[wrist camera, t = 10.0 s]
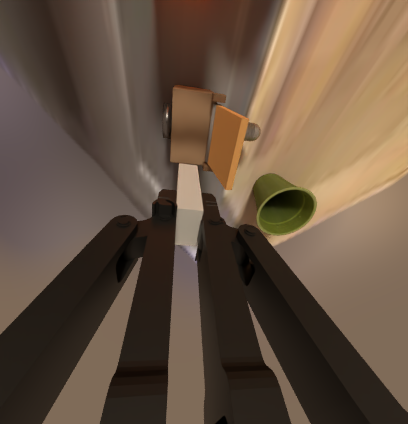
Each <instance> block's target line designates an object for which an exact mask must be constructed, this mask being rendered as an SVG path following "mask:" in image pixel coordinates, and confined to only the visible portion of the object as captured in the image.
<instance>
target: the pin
mask: <svg viewBox="0 0 408 424" xmlns="http://www.w3.org/2000/svg"><path fill="white" fill-rule="evenodd" d="M162 129H163V138H168V139H171V130H172V104H168V103H164V106H163V124H162ZM260 132H261V130H260V127H259V126H258V125H257V124H255V123H251V122H248V126H247V130H246V134H245V138H244V141H254V140H256V139H257V138H258V137H259V136H260Z"/></svg>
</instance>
